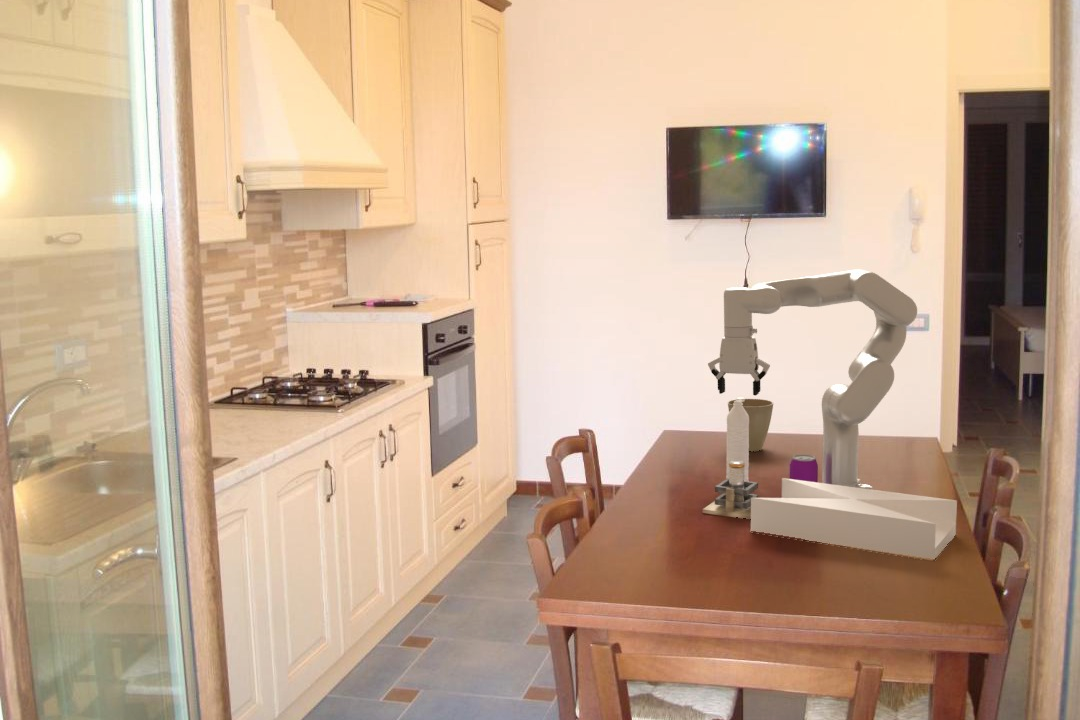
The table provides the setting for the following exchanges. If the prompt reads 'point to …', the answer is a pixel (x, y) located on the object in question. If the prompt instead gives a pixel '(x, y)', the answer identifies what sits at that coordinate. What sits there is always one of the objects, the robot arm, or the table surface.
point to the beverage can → (804, 468)
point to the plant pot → (756, 420)
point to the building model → (858, 518)
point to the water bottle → (738, 436)
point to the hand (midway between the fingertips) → (739, 393)
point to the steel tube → (736, 478)
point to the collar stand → (732, 500)
